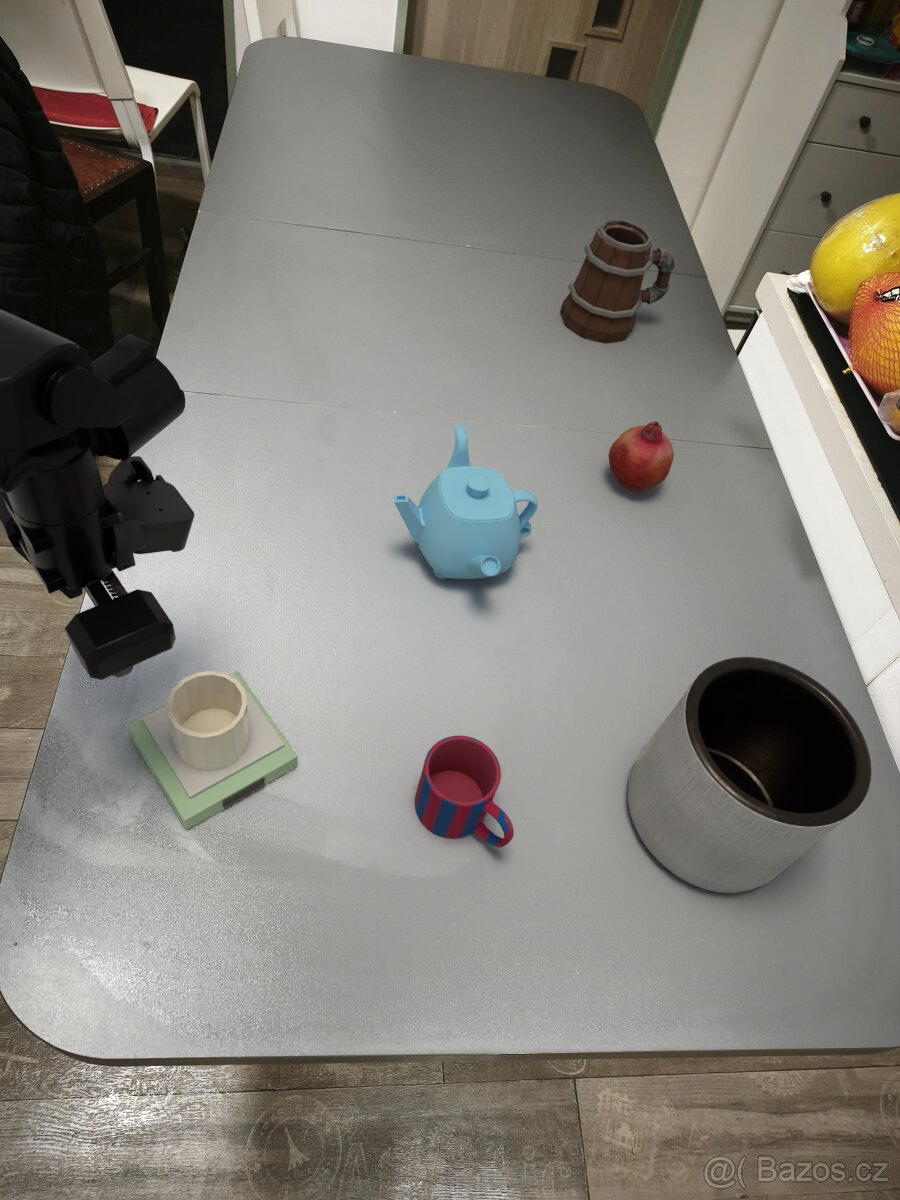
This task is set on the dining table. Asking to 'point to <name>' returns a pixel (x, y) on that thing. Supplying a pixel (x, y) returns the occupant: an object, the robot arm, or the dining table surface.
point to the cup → (461, 790)
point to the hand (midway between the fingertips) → (99, 633)
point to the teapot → (468, 518)
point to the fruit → (641, 457)
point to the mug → (614, 282)
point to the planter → (747, 775)
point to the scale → (214, 789)
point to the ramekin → (208, 720)
